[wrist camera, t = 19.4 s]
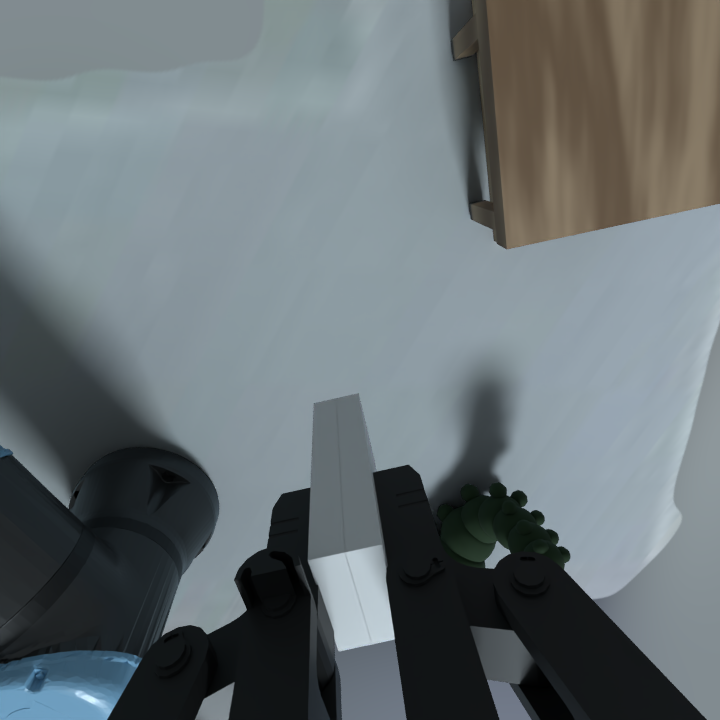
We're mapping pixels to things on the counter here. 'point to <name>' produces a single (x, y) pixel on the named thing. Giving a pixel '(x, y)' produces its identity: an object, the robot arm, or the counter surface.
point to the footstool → (595, 112)
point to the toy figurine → (495, 527)
